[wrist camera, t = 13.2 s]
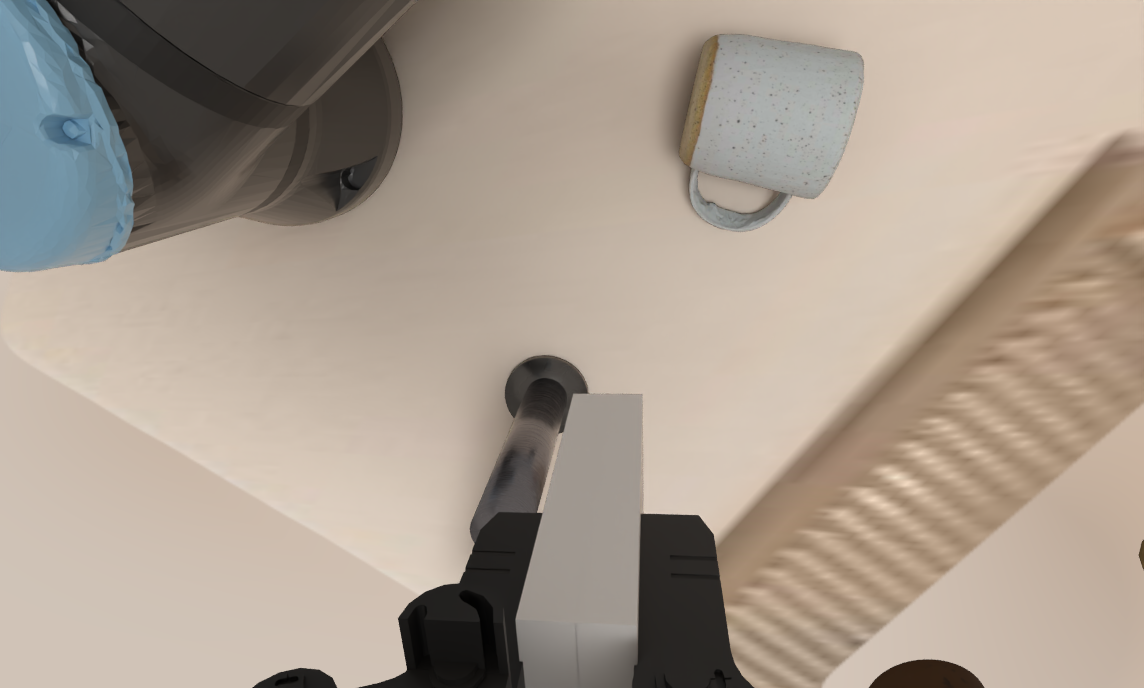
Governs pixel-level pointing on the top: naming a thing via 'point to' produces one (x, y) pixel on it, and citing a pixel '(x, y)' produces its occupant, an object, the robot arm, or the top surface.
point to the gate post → (529, 436)
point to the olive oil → (927, 676)
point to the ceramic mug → (768, 120)
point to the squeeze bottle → (1142, 554)
